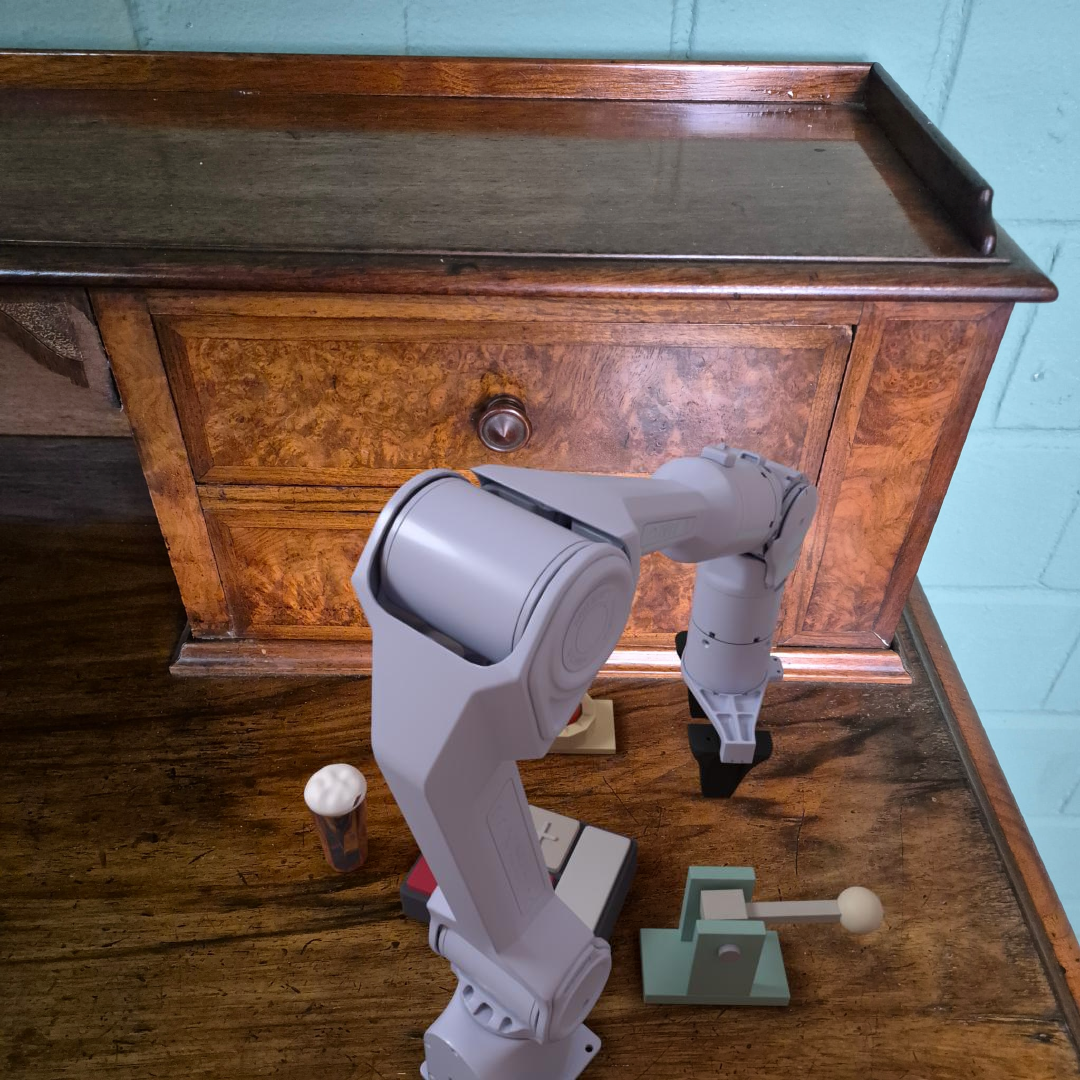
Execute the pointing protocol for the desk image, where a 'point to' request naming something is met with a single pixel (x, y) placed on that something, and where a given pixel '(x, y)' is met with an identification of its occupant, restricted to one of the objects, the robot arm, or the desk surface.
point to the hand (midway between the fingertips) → (709, 753)
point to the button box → (588, 730)
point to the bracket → (713, 951)
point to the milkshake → (339, 814)
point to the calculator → (559, 871)
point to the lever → (797, 909)
